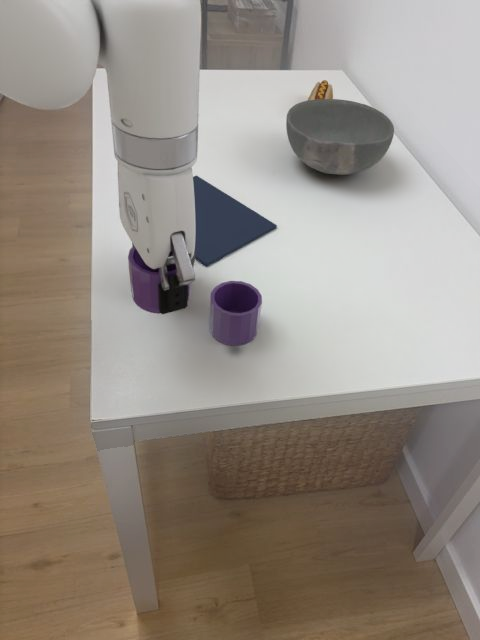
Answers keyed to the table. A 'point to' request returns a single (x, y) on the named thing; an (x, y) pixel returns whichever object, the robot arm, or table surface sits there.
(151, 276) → the ramekin
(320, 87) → the food
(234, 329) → the ramekin
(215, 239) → the placemat
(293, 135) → the bowl
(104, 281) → the table surface
